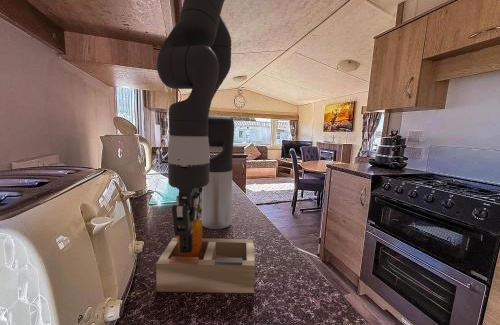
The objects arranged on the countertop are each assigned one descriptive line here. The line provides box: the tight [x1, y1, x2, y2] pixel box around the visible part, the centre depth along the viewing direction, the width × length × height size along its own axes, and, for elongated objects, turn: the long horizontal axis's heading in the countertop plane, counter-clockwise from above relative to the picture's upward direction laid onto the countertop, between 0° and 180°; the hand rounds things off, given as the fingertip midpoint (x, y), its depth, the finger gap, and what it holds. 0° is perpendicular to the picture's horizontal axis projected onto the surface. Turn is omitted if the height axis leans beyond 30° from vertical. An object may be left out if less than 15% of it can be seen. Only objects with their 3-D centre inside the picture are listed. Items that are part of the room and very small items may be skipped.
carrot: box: [176, 207, 204, 257], centre depth 45 cm, size 5×5×15 cm
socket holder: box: [155, 237, 256, 294], centre depth 45 cm, size 10×18×6 cm, turn 91°
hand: (189, 243), depth 45 cm, fingers closed on carrot, 5 cm apart
